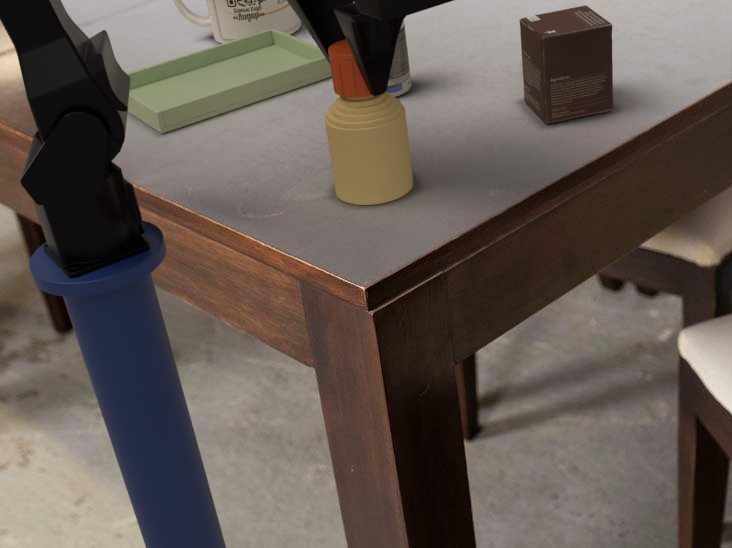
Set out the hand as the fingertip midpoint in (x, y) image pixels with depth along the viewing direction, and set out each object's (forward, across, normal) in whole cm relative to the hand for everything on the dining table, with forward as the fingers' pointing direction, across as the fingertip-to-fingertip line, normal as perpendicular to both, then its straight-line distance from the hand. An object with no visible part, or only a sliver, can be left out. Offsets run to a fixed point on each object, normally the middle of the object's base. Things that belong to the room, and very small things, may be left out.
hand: (363, 87), depth 81 cm
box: (+8, +1, -20) cm, 22 cm away
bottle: (+8, 0, 0) cm, 8 cm away
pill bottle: (+8, +17, -12) cm, 22 cm away
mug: (+8, +45, -12) cm, 47 cm away
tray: (+8, +31, -2) cm, 32 cm away
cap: (0, 0, 0) cm, 0 cm away
